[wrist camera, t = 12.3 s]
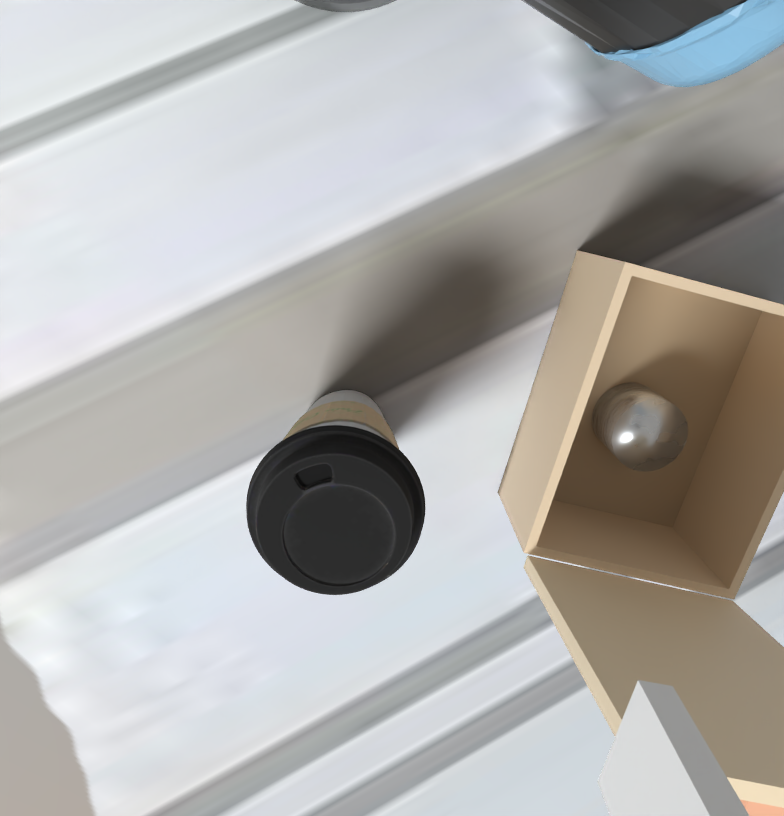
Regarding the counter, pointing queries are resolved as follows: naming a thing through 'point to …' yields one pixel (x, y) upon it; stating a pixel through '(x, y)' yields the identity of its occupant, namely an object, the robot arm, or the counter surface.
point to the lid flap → (678, 665)
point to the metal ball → (639, 426)
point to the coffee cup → (336, 499)
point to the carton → (682, 386)
